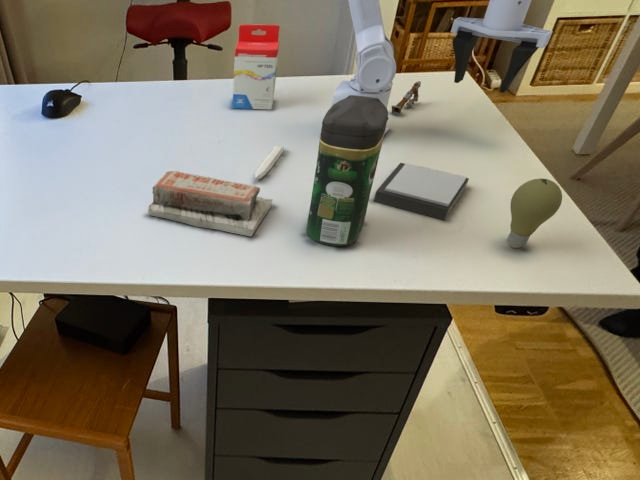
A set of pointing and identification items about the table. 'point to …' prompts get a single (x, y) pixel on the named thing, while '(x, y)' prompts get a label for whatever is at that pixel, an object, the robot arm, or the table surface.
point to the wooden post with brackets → (407, 99)
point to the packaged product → (209, 203)
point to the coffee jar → (346, 169)
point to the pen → (269, 161)
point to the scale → (421, 190)
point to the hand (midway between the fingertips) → (480, 85)
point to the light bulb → (532, 209)
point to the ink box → (255, 67)
